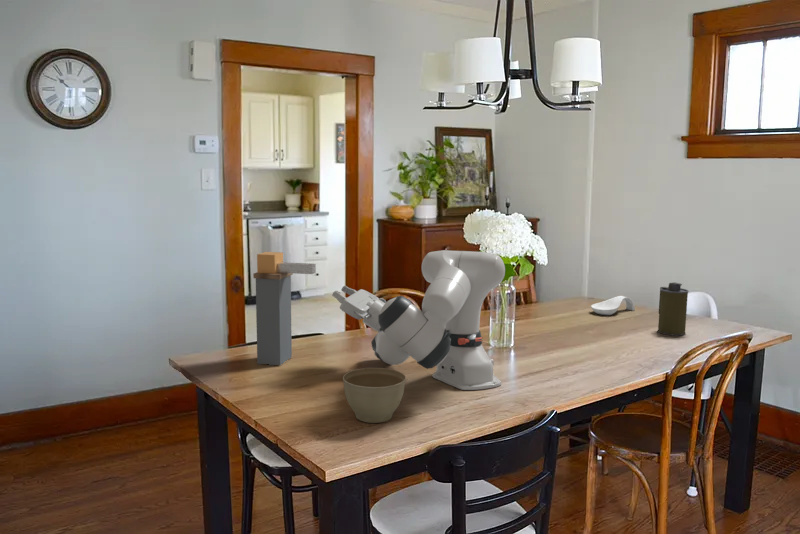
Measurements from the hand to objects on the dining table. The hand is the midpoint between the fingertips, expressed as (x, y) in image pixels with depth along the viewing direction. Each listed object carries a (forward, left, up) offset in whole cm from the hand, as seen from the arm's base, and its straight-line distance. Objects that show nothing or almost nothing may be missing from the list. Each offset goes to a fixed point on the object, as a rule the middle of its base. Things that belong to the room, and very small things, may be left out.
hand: (338, 290), depth 221 cm
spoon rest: (+37, -142, -25) cm, 149 cm away
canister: (-2, -138, -25) cm, 140 cm away
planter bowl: (-48, +5, -25) cm, 54 cm away
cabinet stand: (+13, +18, -25) cm, 33 cm away
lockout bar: (+10, +14, +5) cm, 18 cm away
